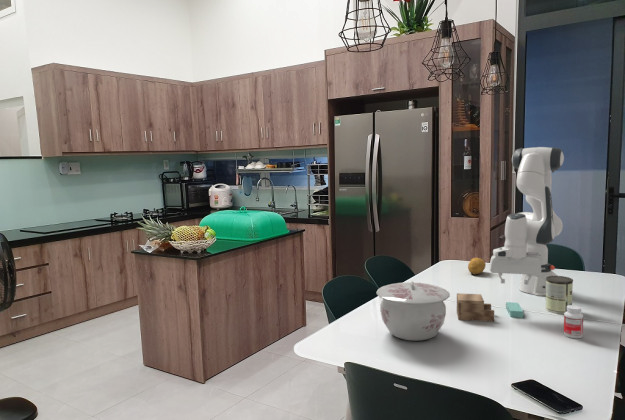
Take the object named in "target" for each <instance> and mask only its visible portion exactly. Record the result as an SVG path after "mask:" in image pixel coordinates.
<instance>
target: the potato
mask: <svg viewBox="0 0 625 420" xmlns="http://www.w3.org/2000/svg"><path fill="white" fill-rule="evenodd" d="M467 268H468V272H470V274H472V275H480V274H481V273H483V272H484V270H485V269H486V261H485V260H484V259H482V258H480V257H474V258H471V259H470V260H469V262H468V264H467Z"/></svg>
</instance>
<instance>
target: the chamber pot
mask: <svg viewBox="0 0 625 420" xmlns="http://www.w3.org/2000/svg"><path fill="white" fill-rule="evenodd" d="M376 295H377V296H378V297H379V298H380V299H382V300H381V303H380V305H379V306H380V310H379V311H380V314H381V320H382V322H383V324H384V325H385V328H387V330H388V331H389V333H390V334H391V335H392V336H394V337H396V338H398V339H400V340H401V339H402V340H405V341H410V342H413V341H414V342H418V341H419V342H420V341H425V340H430V339H432V338H434V337H435V336H437V334H438V333H439V331H440V330H441V328H442V327H443V325H444V324H445V319H446V315H447V313H446V312H447V311H446V310H447V309H446V308H447V307H446V304H445V302H444V301H446V300H448V299H449V298H450V295H451V294H450V292H449V291H448V290H447V289H446V288H443V287H440V286H438V285H434V284H429V283H423V282H422V283H421V282H414V281H411V282H407V281H406V282H397V283H396V282H395V283H391V284H387V285H383V286H381V287H379V288H378V289H377V291H376Z"/></svg>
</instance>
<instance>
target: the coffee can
mask: <svg viewBox="0 0 625 420" xmlns="http://www.w3.org/2000/svg"><path fill="white" fill-rule="evenodd" d="M573 283H574V279H573V278H571V277H569V276H563V275H558V276H548V277H546V296H545V310H546V311H547V312H550V313H551V314H552V313H553V314H558V315H559V314H560V315H564V313H565V312H566V311H567V306H568V305H573Z"/></svg>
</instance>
